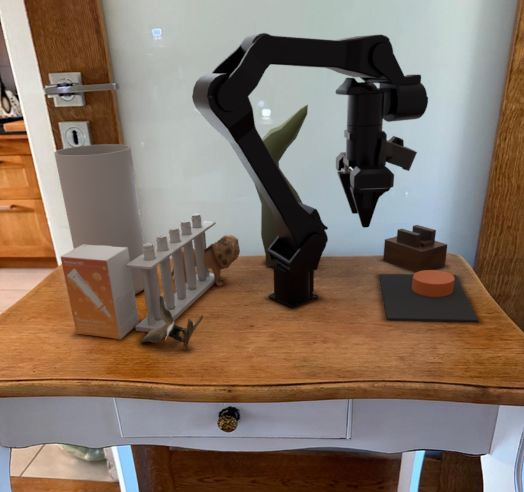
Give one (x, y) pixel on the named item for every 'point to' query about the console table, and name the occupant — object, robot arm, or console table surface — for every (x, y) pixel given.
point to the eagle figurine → (171, 328)
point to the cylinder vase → (102, 199)
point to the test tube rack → (160, 255)
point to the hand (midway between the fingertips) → (360, 220)
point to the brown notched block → (415, 249)
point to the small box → (100, 290)
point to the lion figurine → (217, 256)
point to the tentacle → (277, 145)
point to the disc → (433, 283)
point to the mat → (423, 302)
